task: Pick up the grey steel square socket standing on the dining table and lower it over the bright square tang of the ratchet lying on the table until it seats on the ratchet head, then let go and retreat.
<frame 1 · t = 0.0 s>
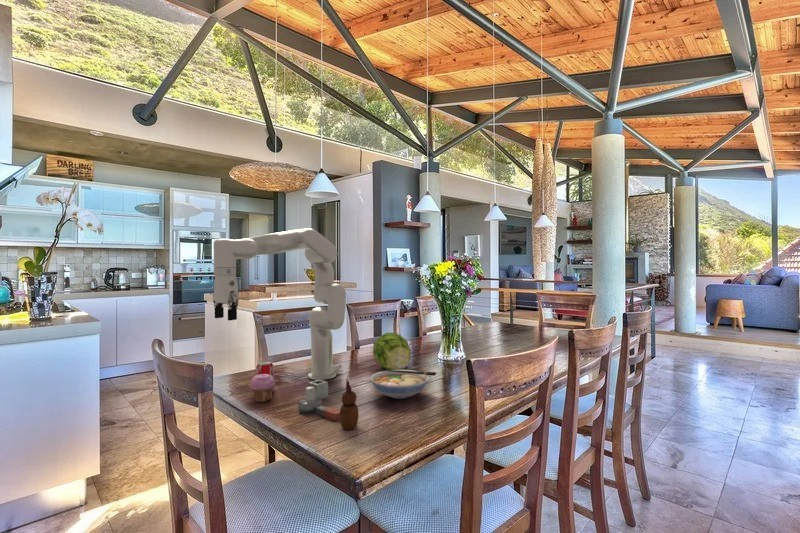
hand: (225, 318, 152), 31 cm above the table, fingers open, 9 cm apart
socket: (318, 397, 157), on the table
ramen bowl: (399, 396, 159), on the table
wooden figurine: (349, 428, 129), on the table
cupcake: (262, 401, 155), on the table
soda can: (265, 392, 164), on the table
ratchet: (310, 409, 144), on the table
lettuce: (393, 370, 197), on the table
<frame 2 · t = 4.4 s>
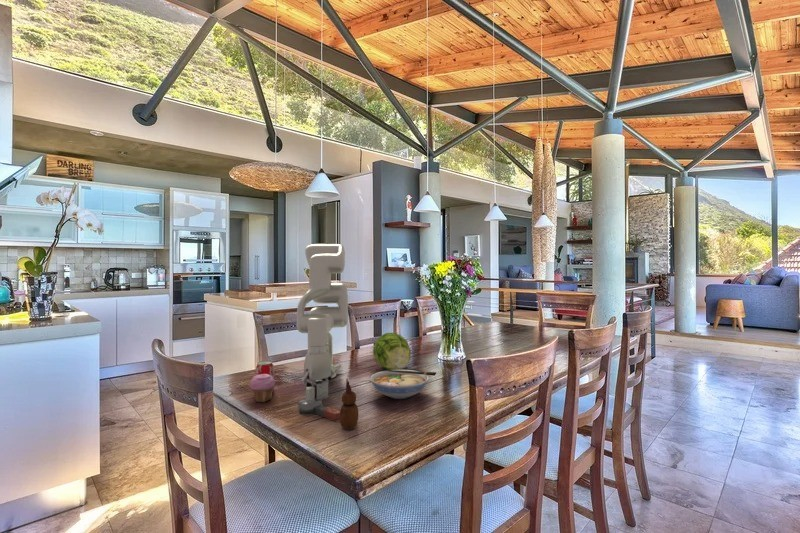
hand: (318, 396, 157), 1 cm above the table, fingers closed on socket, 5 cm apart
socket: (318, 397, 157), on the table, touching gripper
everything else where it was.
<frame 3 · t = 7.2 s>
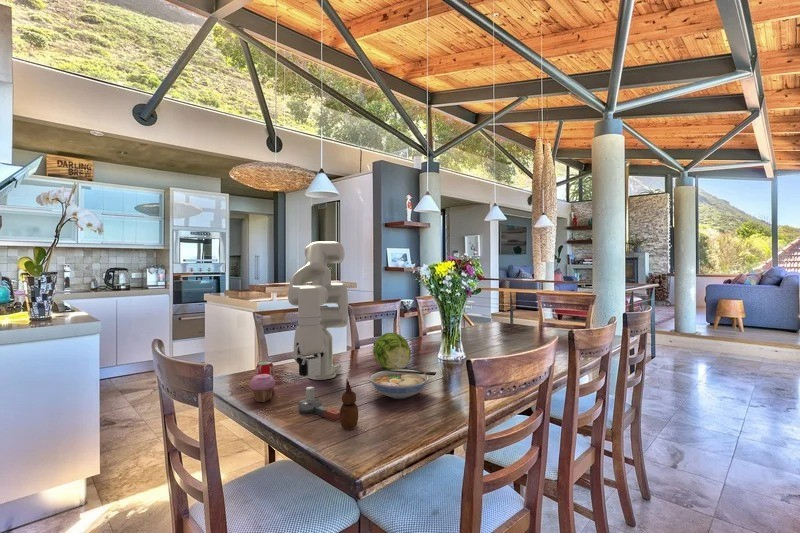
hand: (309, 373, 144), 13 cm above the table, fingers closed on socket, 5 cm apart
socket: (309, 375, 144), point 12 cm above the table, touching gripper
everything else where it was.
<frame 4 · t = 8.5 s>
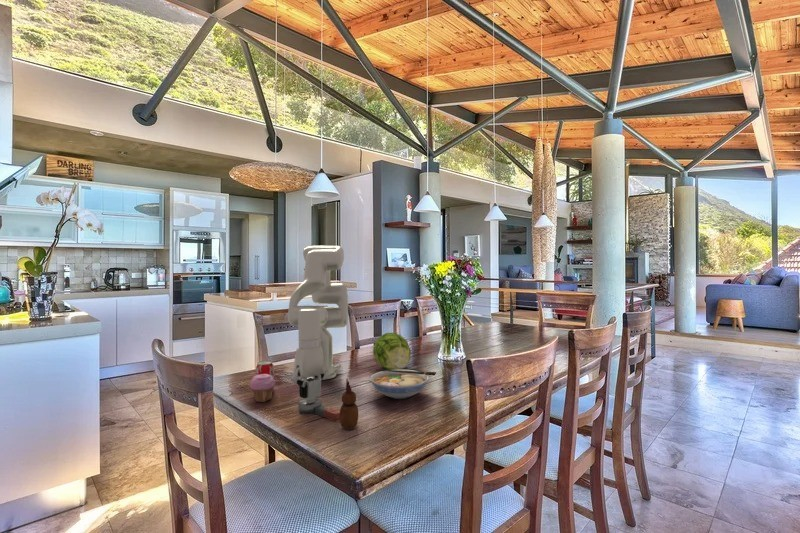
hand: (310, 394, 144), 5 cm above the table, fingers closed on socket, 5 cm apart
socket: (310, 396, 144), point 5 cm above the table, touching gripper
everything else where it was.
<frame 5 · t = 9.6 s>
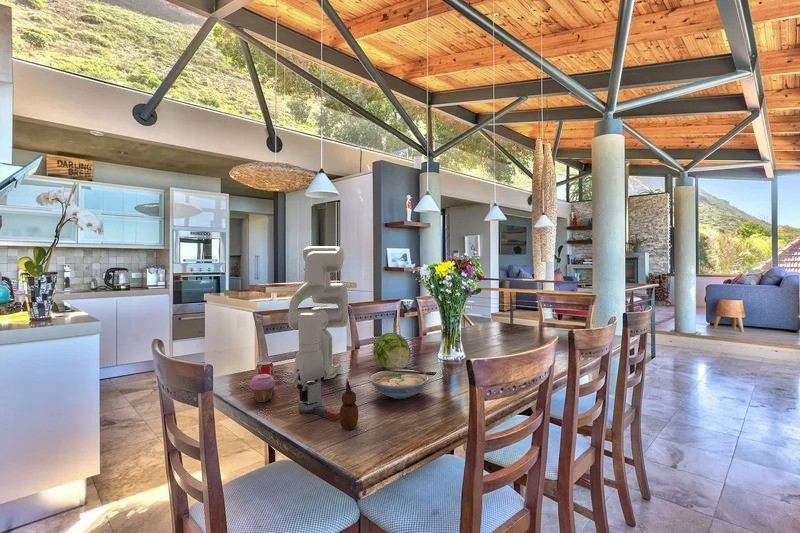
hand: (310, 398, 144), 4 cm above the table, fingers closed on socket, 5 cm apart
socket: (310, 400, 144), point 3 cm above the table, touching gripper
everything else where it was.
when the fingers open (4 cm above the table, at t = 10.0 s): socket stays where it is, resting on ratchet.
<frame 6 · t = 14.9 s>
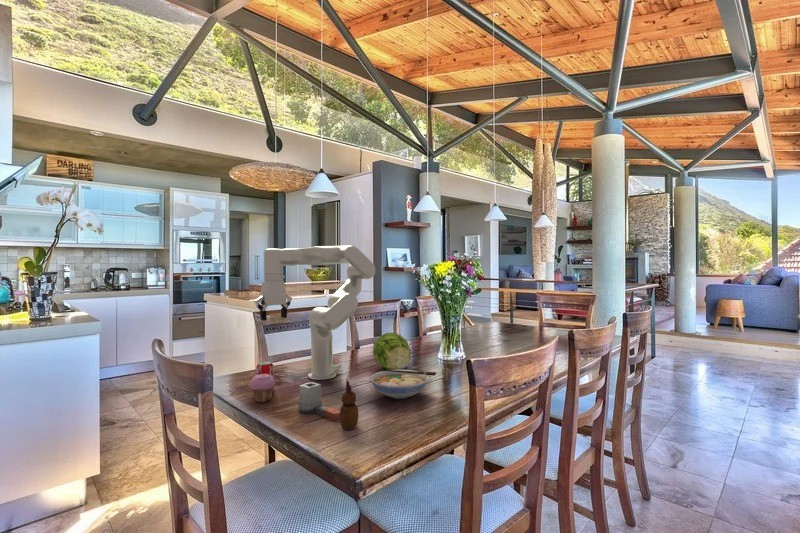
hand: (274, 318, 172), 28 cm above the table, fingers open, 9 cm apart
socket: (310, 401, 144), point 3 cm above the table, touching ratchet
everything else where it was.
at the end: socket 0.1 cm off-centre on the ratchet, point 2.8 cm above the ratchet's base; socket tilted 0°; the gripper is holding nothing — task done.
